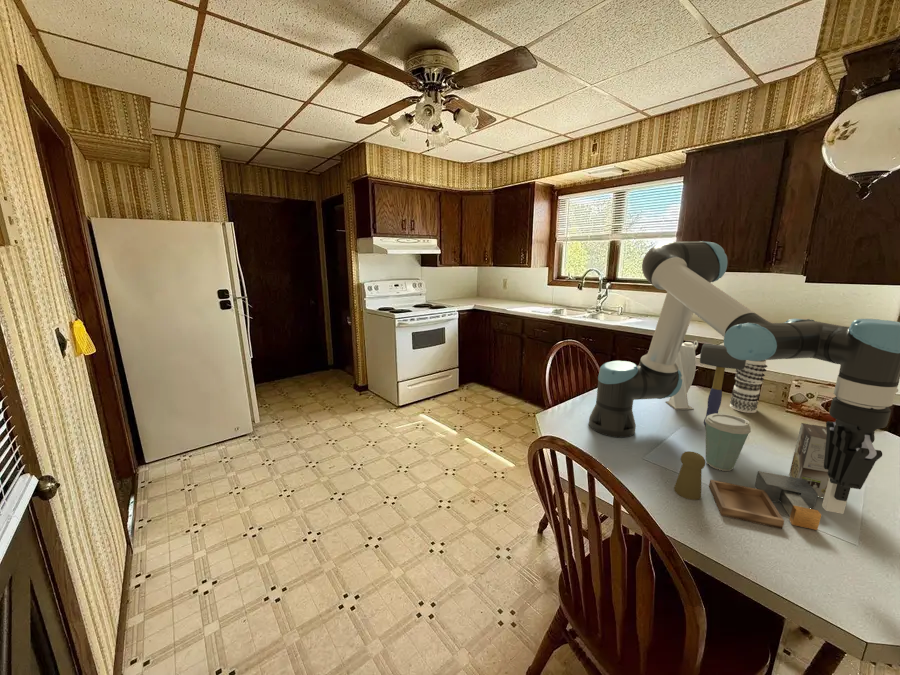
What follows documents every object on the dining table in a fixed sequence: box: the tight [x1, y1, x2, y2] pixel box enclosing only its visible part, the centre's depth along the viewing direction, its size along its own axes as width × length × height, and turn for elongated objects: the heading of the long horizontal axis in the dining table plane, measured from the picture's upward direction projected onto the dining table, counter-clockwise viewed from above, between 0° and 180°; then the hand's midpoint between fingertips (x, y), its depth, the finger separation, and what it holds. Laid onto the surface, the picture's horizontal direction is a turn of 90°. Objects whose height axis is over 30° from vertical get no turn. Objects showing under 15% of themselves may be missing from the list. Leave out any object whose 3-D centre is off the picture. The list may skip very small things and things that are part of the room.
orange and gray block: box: [778, 489, 822, 531], centre depth 88 cm, size 4×12×4 cm, turn 157°
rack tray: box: [708, 479, 785, 530], centre depth 90 cm, size 12×12×2 cm
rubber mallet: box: [699, 343, 746, 428], centre depth 126 cm, size 12×8×30 cm, turn 54°
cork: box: [673, 451, 706, 501], centre depth 94 cm, size 6×6×11 cm
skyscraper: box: [665, 340, 699, 411], centre depth 143 cm, size 8×8×28 cm
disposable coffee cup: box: [704, 412, 752, 472], centre depth 106 cm, size 11×11×15 cm
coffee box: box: [788, 422, 830, 499], centre depth 96 cm, size 9×6×16 cm
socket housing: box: [754, 470, 818, 510], centre depth 93 cm, size 10×6×4 cm, turn 67°
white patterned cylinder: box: [729, 360, 768, 414], centre depth 142 cm, size 9×9×25 cm
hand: (832, 509), depth 75 cm, fingers closed
